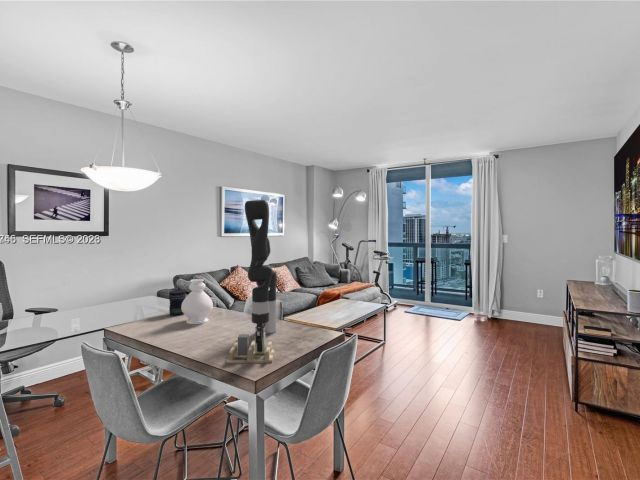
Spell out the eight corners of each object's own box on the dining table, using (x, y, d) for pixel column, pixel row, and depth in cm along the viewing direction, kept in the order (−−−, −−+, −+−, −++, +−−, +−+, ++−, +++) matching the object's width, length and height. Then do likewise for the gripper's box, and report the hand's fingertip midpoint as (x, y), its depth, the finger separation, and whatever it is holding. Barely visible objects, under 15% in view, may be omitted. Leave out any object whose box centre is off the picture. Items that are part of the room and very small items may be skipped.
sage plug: (256, 350, 150) (256, 332, 149) (265, 349, 150) (265, 332, 150) (255, 353, 146) (254, 335, 145) (264, 353, 146) (264, 335, 146)
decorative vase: (188, 317, 211) (188, 277, 210) (216, 317, 211) (216, 277, 210) (176, 325, 193) (175, 282, 192) (207, 325, 193) (207, 282, 192)
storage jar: (187, 314, 216) (186, 291, 216) (170, 316, 211) (170, 293, 210) (184, 311, 225) (183, 289, 224) (168, 313, 219) (167, 290, 219)
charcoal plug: (239, 352, 149) (239, 334, 149) (248, 352, 150) (248, 334, 149) (237, 355, 145) (237, 337, 145) (247, 355, 146) (247, 337, 145)
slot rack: (233, 350, 155) (233, 340, 155) (275, 349, 156) (275, 339, 155) (225, 363, 140) (225, 352, 140) (271, 362, 141) (271, 352, 140)
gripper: (254, 307, 154) (254, 344, 155) (249, 315, 140) (249, 356, 140) (270, 307, 154) (270, 344, 155) (267, 315, 140) (267, 355, 141)
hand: (260, 349), depth 148 cm, fingers closed on sage plug, 4 cm apart
